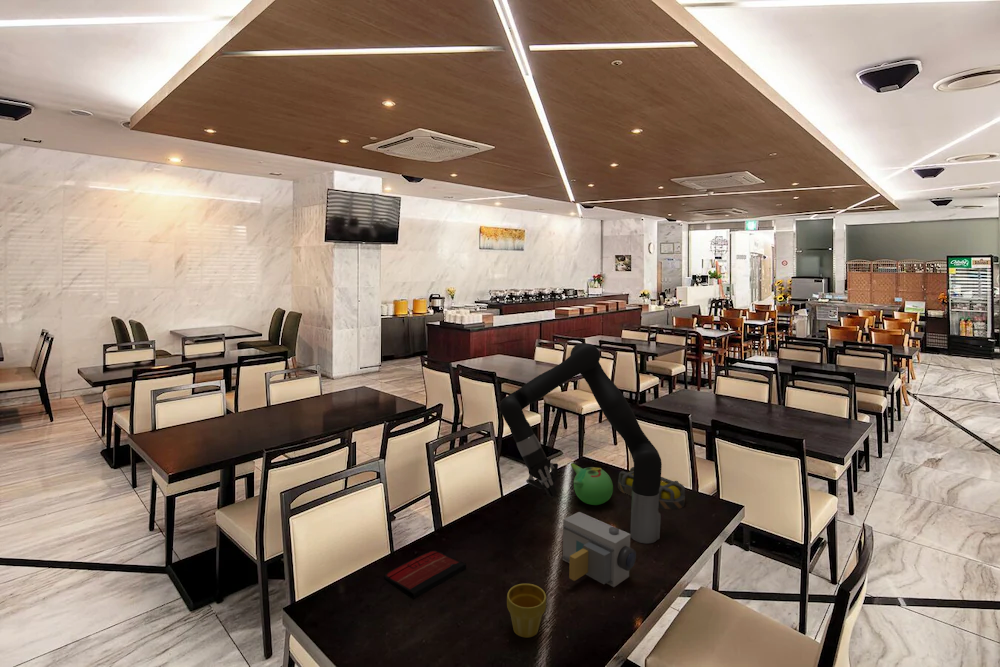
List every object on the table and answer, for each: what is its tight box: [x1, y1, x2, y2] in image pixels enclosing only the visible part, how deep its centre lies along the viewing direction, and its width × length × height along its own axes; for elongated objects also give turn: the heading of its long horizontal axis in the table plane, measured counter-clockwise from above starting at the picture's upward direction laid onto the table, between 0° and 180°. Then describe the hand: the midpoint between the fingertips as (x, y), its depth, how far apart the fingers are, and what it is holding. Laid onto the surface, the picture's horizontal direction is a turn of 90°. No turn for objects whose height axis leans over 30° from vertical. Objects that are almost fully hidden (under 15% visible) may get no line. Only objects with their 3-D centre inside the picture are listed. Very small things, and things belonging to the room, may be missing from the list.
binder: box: [384, 550, 467, 600], centre depth 162 cm, size 16×2×21 cm
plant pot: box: [506, 583, 547, 638], centre depth 136 cm, size 10×10×10 cm
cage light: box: [617, 466, 686, 510], centre depth 218 cm, size 15×8×30 cm
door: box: [568, 542, 611, 585], centre depth 154 cm, size 10×8×9 cm
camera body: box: [562, 511, 637, 588], centre depth 163 cm, size 9×23×15 cm, turn 43°
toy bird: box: [570, 462, 614, 506], centre depth 211 cm, size 18×17×15 cm
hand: (553, 496), depth 176 cm, fingers closed
